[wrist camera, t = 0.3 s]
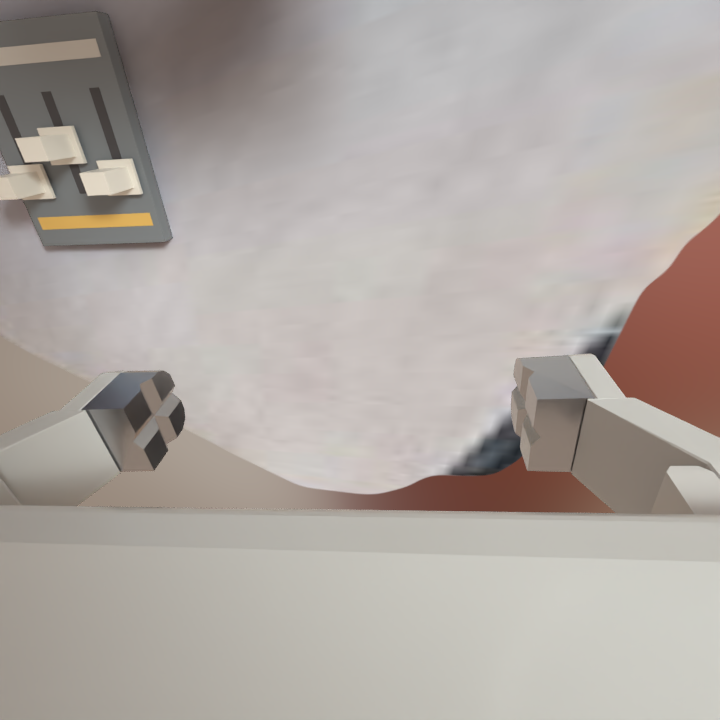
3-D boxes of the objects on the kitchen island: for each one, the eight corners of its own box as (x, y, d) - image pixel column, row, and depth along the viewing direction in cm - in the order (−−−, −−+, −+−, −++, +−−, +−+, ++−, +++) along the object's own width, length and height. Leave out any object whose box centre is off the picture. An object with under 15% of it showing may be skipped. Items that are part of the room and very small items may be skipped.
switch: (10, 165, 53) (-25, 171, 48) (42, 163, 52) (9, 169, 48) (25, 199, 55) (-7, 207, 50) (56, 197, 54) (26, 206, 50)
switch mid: (39, 127, 50) (5, 130, 46) (73, 125, 49) (42, 127, 45) (54, 164, 52) (23, 170, 48) (87, 162, 51) (58, 168, 47)
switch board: (-40, 29, 47) (-57, 27, 46) (107, 14, 45) (95, 11, 44) (54, 241, 60) (43, 246, 58) (172, 237, 58) (165, 241, 56)
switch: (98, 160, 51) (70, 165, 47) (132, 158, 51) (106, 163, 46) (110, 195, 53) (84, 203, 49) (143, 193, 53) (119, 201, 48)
